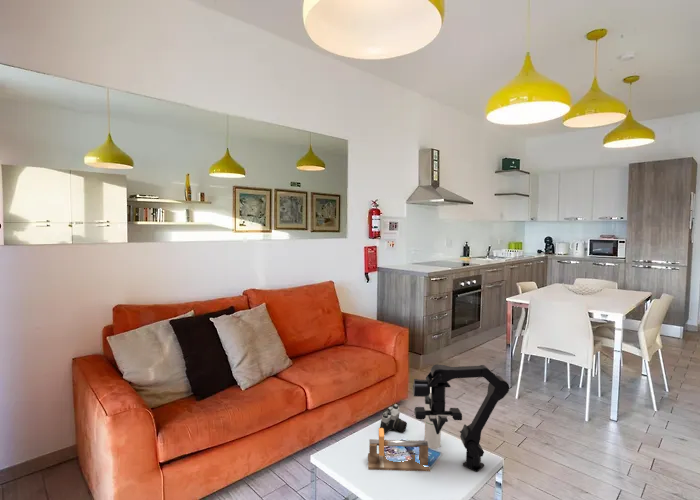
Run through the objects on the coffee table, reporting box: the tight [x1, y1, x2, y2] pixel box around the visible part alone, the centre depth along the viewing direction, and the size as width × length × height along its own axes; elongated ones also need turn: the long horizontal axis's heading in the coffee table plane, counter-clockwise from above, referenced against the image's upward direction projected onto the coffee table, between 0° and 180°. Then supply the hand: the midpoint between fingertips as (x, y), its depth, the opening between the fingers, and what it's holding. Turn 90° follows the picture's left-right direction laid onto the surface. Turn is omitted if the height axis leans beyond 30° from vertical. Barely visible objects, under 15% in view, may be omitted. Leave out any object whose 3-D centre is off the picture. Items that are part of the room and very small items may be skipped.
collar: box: [378, 427, 385, 456], centre depth 160 cm, size 2×7×8 cm, turn 178°
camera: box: [379, 403, 408, 436], centre depth 188 cm, size 15×11×10 cm
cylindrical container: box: [424, 387, 442, 450], centre depth 175 cm, size 7×7×25 cm
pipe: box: [370, 439, 428, 448], centre depth 160 cm, size 24×2×2 cm, turn 88°
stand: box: [367, 438, 431, 472], centre depth 160 cm, size 25×10×8 cm, turn 88°
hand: (437, 433), depth 159 cm, fingers closed
